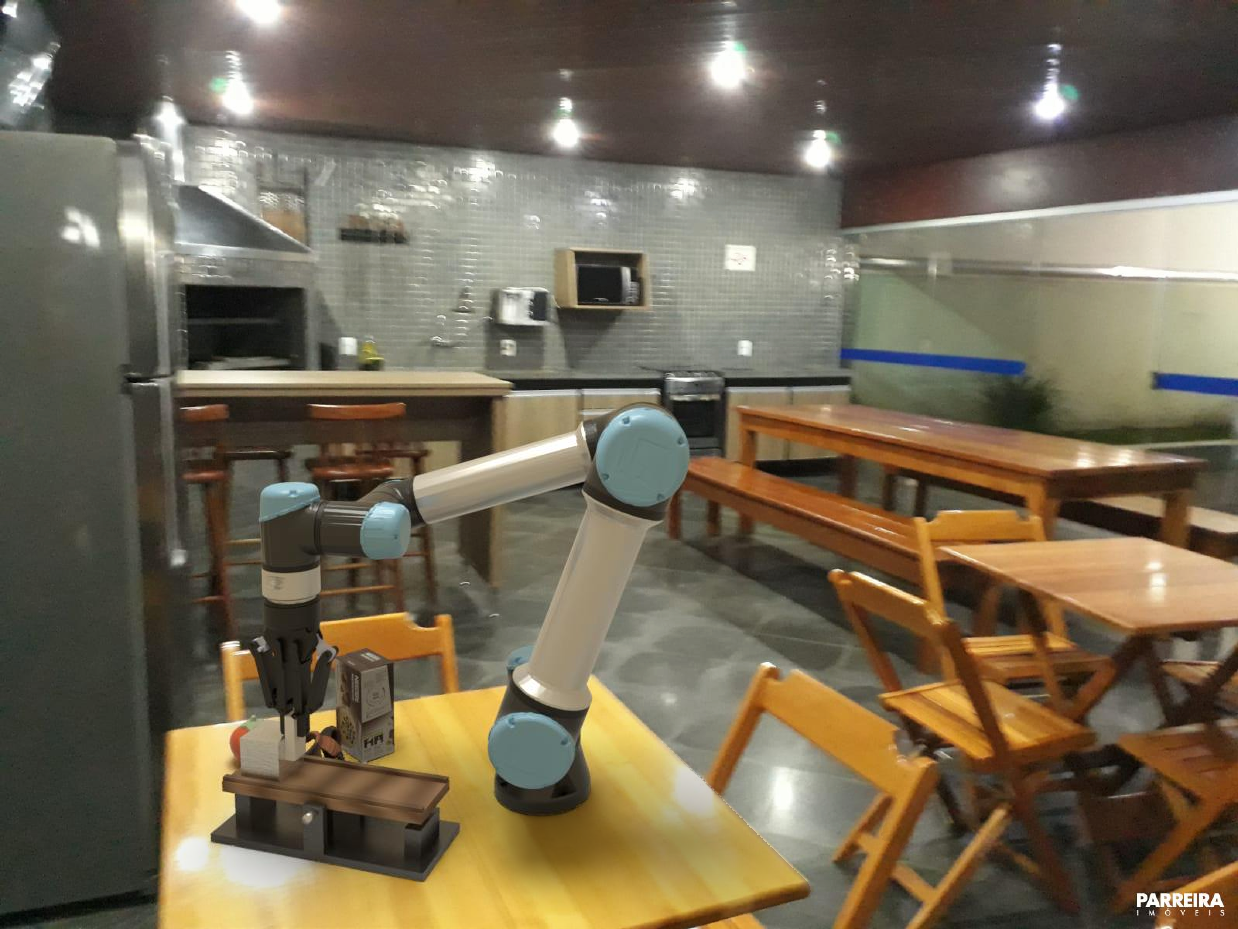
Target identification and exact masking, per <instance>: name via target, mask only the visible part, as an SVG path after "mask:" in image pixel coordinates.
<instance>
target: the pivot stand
mask: <svg viewBox="0 0 1238 929" xmlns="http://www.w3.org/2000/svg"><path fill="white" fill-rule="evenodd" d="M359 763H363V764H368V762H366V761H361V762H360V761H359ZM234 808H235V809H234V810H235V812H234V813H233V814H232V815H231V816H230V817H229V818H228V819H227V820H225V821H223V822H222V824H220V825H219V826H218V827H216V829H214V830H213V831H212V832H211V833H210V842H211V843H217V844H222V845H227V846H232V845H234V847H238V848H244V849H249V850H253V851H254V850H255V851H260V852H264V853H270V854H275V855H280V856H285V857H291V858H297V859H300V860H307V861H312V862H316V863H323V864H328V865H332V866H337V867H344V868H348V869H354V870H360V871H363V872H364V871H365V872H369V873H375V874H380V875H386V876H391V877H395V878H401V879H406V880H407V879H408V880H412V881H418V882H422V883H424V882H425V880H426V878H427V877H428V876H429V874H430V873H431V871H432V870H433V869H434V868H435V866H436V865H437V863H438V861H439V860H440V859H441V857H443V855H444V853H445V852H446V851H447V849H448V848H449V847H450V845H451V844H452V843H453V841H454V840H455V838H456V837H457V836H458V834H459V833H460V831H461V823H460V822H455V821H450V820H443V819H441V818H440V815H441V814H440V811H441V810H440V807H439V806H436V807H435V808H434V809H433V811H432V812H431V813H430V814H429V816H428V817H427V818H426V819H425V821H424V822H423V823H422V824H421V825H420V824H414V823H408V822H402V821H396V820H390V819H384V818H378V817H372V816H366V815H360V814H354V813H348V812H342V811H337V810H331V809H327V804H321V803H315V802H310V801H306V802H305V803H304V804H303V805H301V804H295V803H289V802H283V801H277V800H271V799H265V798H259V797H253V796H247V795H241V794H235V793H234Z"/></svg>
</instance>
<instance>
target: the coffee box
mask: <svg viewBox="0 0 1238 929" xmlns="http://www.w3.org/2000/svg"><path fill="white" fill-rule="evenodd" d="M333 662H334V691H335V692H334V693H335V720H336V724H335V725H336V726H335V727H337V728H338V729H339V730H340V733H341V745H340V748H341V750H344V751H345V752H346V753H347V754H349V755H350V756H352V757H353V758H355V759H356V760H358V761H359V763H360V762H361V761H366V762H367V763H368V762H370V761H373V760H376V759H379V758H381V757H384V756H387V755H390V754H392V753H395V662H394V661H393V660H391V659H388V658H387V657H386V656H383V655H381V654H380V653H378V652H376V651H373V650H372V649H369V648H368V647H364V648H361V649H357V650H353V651H351V652H348V653H345V654H341V655H338V656H337V655H336V657H335V658H334V660H333Z"/></svg>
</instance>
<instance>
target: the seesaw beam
mask: <svg viewBox="0 0 1238 929" xmlns="http://www.w3.org/2000/svg"><path fill="white" fill-rule="evenodd" d="M449 778H450V777H449V776H447V775H441V774H440V775H439V774H433V773H427V772H421V771H413V770H408V769H402V768H395V767H389V766H381V765H374V764H363V763H360V762H356V761H349V760H346V761H343V760H338V758H335V759H330V758H325V757H324V756H322V757H317V756H311V755H304V764H303V765H302V766H300V767H299V768H298V769H297V770H296V771H295V772H293V773H292V774H291V775H290V776H289V777H287V778H286V779H285V780H284V781H283V782H282V783H280V782H274V781H267V780H261V779H255V778H249V777H243V776H241V766H240V767H239V768H237V769H236V770H235V771H234V772H232V773H225V774H224V775H222V781H221V791H222V792H224V793H230V794H234V795H235V794H241V795H247V796H253V797H259V798H265V799H271V800H277V801H283V802H289V803H295V804H301V805H303V804H304V803H305V802H306V801H310V802H315V803H321V804H327V809H331V810H337V811H342V812H348V813H354V814H360V815H366V816H372V817H378V818H384V819H390V820H396V821H402V822H408V823H414V824H420V825H421V824H422V823H423V822H424V821H425V819H426V818H427V817H428V816H429V814H430V813H431V812H432V811H433V809H434V808H435V807H438V806H437V805H438V804H439V803H440V802H441V800H443V798H444V797H445V796H446V794H448V792H449V791H450V779H449Z"/></svg>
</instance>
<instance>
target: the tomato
mask: <svg viewBox="0 0 1238 929" xmlns="http://www.w3.org/2000/svg"><path fill="white" fill-rule="evenodd" d="M265 720H266V719H264V718H258V717H257V715H256V714H252V715H251V716H250V718H249V719H247V720H246V721H244V722H243V723H241V724H240V725H238V726H237V727H236V728H235V729H234V730H233V731H232V732H231V735H230V737H229V748H230V750H231V753H232V755H233V756H234V758H235V759H236V760H237V761H238V762H239V763H240V764H241V757H240V738H241V737H242V736H243V735H245V734H246V733H248V732H249V731H250V730H252V729H253V728H255V727H256V726H257V725H259V724H260V723H262V722H263V721H265Z"/></svg>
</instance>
